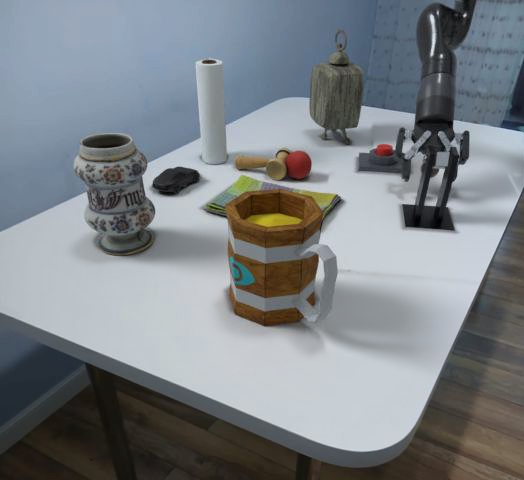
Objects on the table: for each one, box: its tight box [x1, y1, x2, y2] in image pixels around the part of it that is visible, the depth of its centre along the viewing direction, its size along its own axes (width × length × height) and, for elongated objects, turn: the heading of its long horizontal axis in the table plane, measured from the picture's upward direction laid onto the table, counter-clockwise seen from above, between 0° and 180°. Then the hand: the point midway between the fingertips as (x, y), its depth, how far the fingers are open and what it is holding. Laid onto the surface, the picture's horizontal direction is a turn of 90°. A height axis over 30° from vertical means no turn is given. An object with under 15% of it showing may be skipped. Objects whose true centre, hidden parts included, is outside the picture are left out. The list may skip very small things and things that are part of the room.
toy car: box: [151, 165, 201, 194], centre depth 108 cm, size 6×12×4 cm, turn 149°
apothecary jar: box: [73, 132, 156, 256], centre depth 84 cm, size 12×12×18 cm
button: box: [376, 143, 394, 156], centre depth 114 cm, size 4×4×2 cm
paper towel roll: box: [194, 57, 228, 165], centre depth 114 cm, size 7×6×21 cm
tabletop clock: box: [308, 28, 365, 145], centre depth 125 cm, size 14×9×25 cm, turn 14°
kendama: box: [234, 147, 313, 181], centre depth 113 cm, size 8×6×18 cm
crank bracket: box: [401, 145, 460, 232], centre depth 92 cm, size 10×9×14 cm
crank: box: [420, 152, 450, 179], centre depth 94 cm, size 13×4×4 cm, turn 171°
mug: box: [225, 189, 339, 327], centre depth 70 cm, size 20×14×15 cm
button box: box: [357, 147, 402, 175], centre depth 116 cm, size 11×9×4 cm
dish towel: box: [202, 174, 342, 222], centre depth 100 cm, size 18×24×3 cm
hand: (428, 181), depth 99 cm, fingers open, 8 cm apart
